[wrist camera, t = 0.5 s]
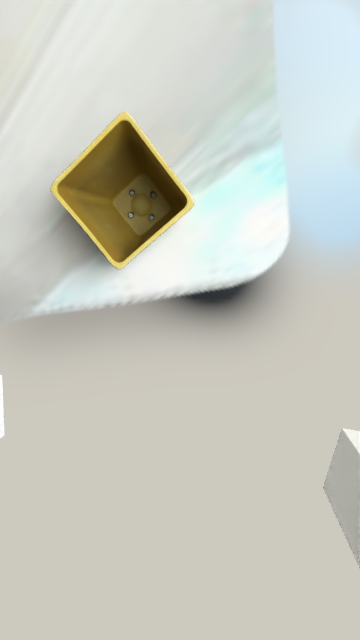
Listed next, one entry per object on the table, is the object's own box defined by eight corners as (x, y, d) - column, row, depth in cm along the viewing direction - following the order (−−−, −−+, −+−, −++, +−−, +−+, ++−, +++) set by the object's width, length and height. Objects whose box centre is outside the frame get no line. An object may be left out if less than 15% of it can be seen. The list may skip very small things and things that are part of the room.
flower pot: (200, 212, 33) (197, 203, 25) (140, 263, 35) (117, 272, 27) (147, 142, 32) (124, 107, 23) (88, 200, 34) (46, 187, 25)
